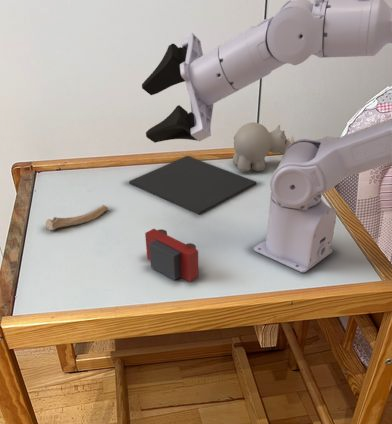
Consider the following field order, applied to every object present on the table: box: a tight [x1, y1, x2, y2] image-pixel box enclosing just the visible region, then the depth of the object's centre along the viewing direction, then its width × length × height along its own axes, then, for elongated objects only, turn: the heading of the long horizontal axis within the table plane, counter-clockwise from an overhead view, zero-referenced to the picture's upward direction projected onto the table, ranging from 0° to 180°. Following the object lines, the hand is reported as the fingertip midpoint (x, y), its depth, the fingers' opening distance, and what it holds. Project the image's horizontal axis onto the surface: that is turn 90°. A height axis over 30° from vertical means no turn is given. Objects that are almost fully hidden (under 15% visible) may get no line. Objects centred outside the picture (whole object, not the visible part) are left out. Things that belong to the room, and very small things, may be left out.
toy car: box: [144, 228, 199, 283], centre depth 76 cm, size 9×4×4 cm, turn 47°
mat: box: [128, 155, 257, 215], centre depth 98 cm, size 18×16×1 cm
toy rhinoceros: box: [232, 122, 295, 173], centre depth 101 cm, size 7×12×8 cm, turn 99°
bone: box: [45, 204, 109, 232], centre depth 88 cm, size 3×11×2 cm, turn 127°
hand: (148, 113), depth 74 cm, fingers open, 7 cm apart
